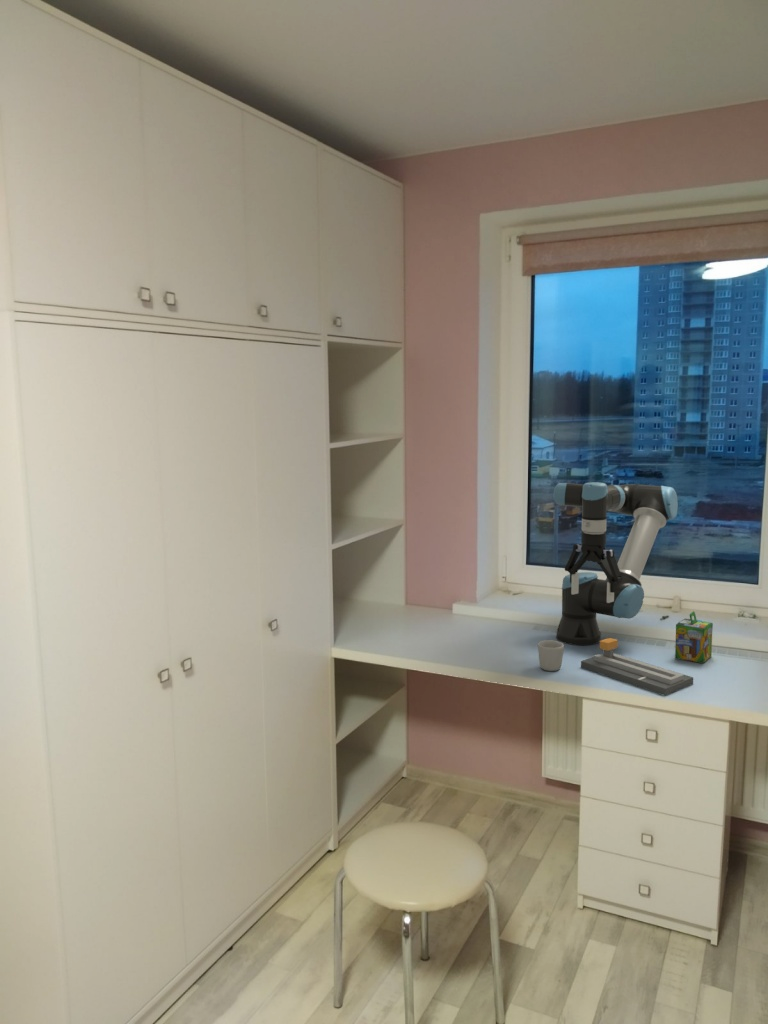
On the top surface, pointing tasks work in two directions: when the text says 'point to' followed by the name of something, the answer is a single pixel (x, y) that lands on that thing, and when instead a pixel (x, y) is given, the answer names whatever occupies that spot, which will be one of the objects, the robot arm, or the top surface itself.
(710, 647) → the chalk box
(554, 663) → the cup
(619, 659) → the fader console
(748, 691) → the top surface
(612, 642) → the fader knob
